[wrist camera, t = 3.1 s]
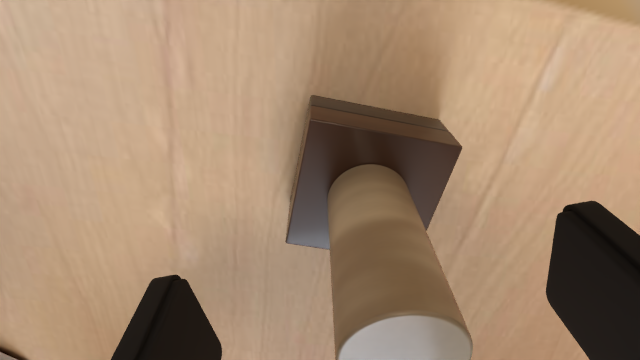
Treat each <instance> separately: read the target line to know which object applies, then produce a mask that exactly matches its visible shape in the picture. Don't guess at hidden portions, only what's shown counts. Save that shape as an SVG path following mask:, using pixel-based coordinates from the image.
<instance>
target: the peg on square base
mask: <svg viewBox="0 0 640 360" xmlns="http://www.w3.org/2000/svg"><path fill="white" fill-rule="evenodd" d="M461 150H462V146H461V145H460V144H459V142H458V141H457V140H456V139H455V138H454V136H453V135H452V134H451V133H450V132H449V131H448V130H447V128H446V127H445V126H444V125H443V124H442V122H441V121H440V120H437V119H432V118H427V117H422V116H417V115H412V114H406V113H401V112H396V111H391V110H386V109H381V108H375V107H370V106H365V105H360V104H355V103H350V102H345V101H339V100H334V99H329V98H324V97H319V96H314V95H312V96H311V97H310V102H309V107H308V112H307V117H306V123H305V128H304V133H303V138H302V143H301V149H300V154H299V159H298V164H297V170H296V175H295V180H294V185H293V190H292V196H291V201H290V206H289V216H288V224H287V233H286V243H288V244H295V245H302V246H308V247H315V248H322V249H329V250H330V264H331V283H332V302H333V322H334V341H335V359H336V360H470V359H471V356H472V350H473V344H472V339H471V335H470V333H469V331H468V328H467V326H466V324H465V321H464V319H463V317H462V314H461V312H460V310H459V307H458V305H457V303H456V300H455V298H454V295H453V293H452V291H451V288H450V286H449V284H448V281H447V279H446V277H445V274H444V272H443V270H442V267H441V265H440V262H439V260H438V258H437V255H436V253H435V251H434V248H433V246H432V244H431V241H430V239H429V237H428V234H427V232H426V230H427V228H428V226H429V224H430V221H431V219H432V217H433V214H434V212H435V210H436V207H437V205H438V203H439V201H440V198H441V196H442V194H443V191H444V189H445V187H446V184H447V182H448V180H449V177H450V175H451V173H452V171H453V168H454V166H455V164H456V161H457V159H458V157H459V154H460V152H461Z"/></svg>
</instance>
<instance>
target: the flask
mask: <svg viewBox="0 0 640 360" xmlns="http://www.w3.org/2000/svg"><path fill="white" fill-rule="evenodd" d="M0 360H17V359H15V358H13V357H10V356H8V355H6V354H3V353H1V352H0Z"/></svg>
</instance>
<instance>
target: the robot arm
mask: <svg viewBox="0 0 640 360" xmlns="http://www.w3.org/2000/svg"><path fill="white" fill-rule="evenodd" d="M546 295H547V299H548V301H549V303H550V305H551V307H552V308H553V309H554V311H555V312H556V314H557V315H558V316H559V318H560V319H561V320H562V322H563V323H564V325H565V326H566V327H567V329H568V330H569V331H570V333H571V334H572V336H573V337H574V338H575V340H576V341H577V342H578V344H579V345H580V347H581V348H582V349H583V351H584V352H585V354H586V355H587V356H588V358H589V359H590V360H640V235H638V234H637V233H636V232H635V231H633V230H632V229H631V228H630V227H628V226H627V225H626V224H625V223H623V222H622V221H621V220H620V219H618V218H617V217H616V216H615V215H613V214H612V213H611V212H609V211H608V210H607V209H606V208H604V207H603V206H602V205H601V204H599V203H598V202H596V201H588V202H582V203H577V204H571V205H567V206H565V207H564V209H563V212H561V213H559V214H558V215H557V219H556V225H555V232H554V239H553V246H552V253H551V259H550V266H549V273H548V280H547V287H546ZM221 357H222V347H221V344H220V341H219V339H218V337H217V336H216V334H215V332H214V330H213V328H212V326H211V324H210V323H209V321H208V319H207V317H206V315H205V313H204V311H203V309H202V308H201V306H200V304H199V302H198V300H197V298H196V296H195V294H194V293H193V291H192V289H191V287H190V285H189V283H188V282H187V280H185V279H181V278H180V277H179V276H178V275H170V276H165V277H159V278H154V279H153V280H152V281H151V282H150V284H149V286H148V288H147V290H146V292H145V294H144V296H143V298H142V300H141V302H140V303H139V305H138V307H137V309H136V311H135V313H134V315H133V317H132V319H131V321H130V323H129V325H128V327H127V329H126V331H125V333H124V335H123V337H122V339H121V341H120V343H119V345H118V347H117V348H116V350H115V352H114V354H113V356H112V358H111V360H221Z"/></svg>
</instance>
